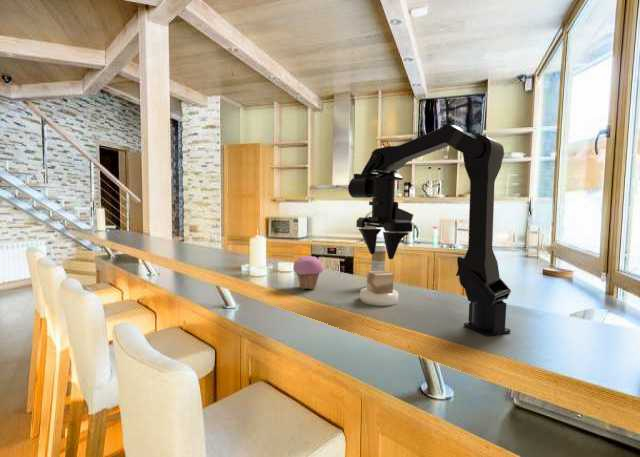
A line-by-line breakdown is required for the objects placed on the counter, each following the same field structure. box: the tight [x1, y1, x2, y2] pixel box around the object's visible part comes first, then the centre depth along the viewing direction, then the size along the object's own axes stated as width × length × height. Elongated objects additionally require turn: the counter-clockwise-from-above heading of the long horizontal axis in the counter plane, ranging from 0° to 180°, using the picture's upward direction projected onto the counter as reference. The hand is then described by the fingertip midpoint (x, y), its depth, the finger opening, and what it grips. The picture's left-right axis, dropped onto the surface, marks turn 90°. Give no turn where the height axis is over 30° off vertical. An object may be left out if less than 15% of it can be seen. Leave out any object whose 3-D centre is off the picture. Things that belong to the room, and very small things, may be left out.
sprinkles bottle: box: [370, 243, 387, 272], centre depth 107 cm, size 5×5×13 cm
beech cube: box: [366, 270, 394, 294], centre depth 91 cm, size 5×5×5 cm
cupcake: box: [292, 255, 324, 290], centre depth 102 cm, size 9×9×10 cm
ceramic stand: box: [360, 286, 399, 307], centre depth 91 cm, size 10×10×2 cm
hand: (381, 256), depth 91 cm, fingers open, 9 cm apart
